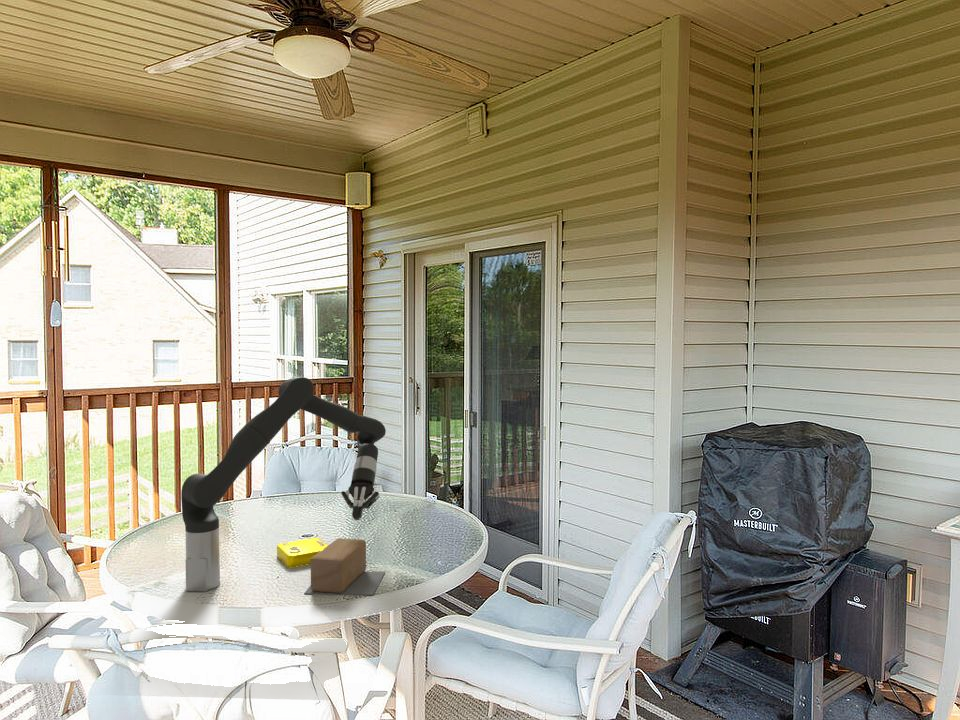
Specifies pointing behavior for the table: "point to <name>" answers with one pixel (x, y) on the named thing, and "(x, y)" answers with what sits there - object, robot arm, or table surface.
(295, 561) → the yellow labelled tile
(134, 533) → the table surface
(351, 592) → the mat
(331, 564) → the wooden block
